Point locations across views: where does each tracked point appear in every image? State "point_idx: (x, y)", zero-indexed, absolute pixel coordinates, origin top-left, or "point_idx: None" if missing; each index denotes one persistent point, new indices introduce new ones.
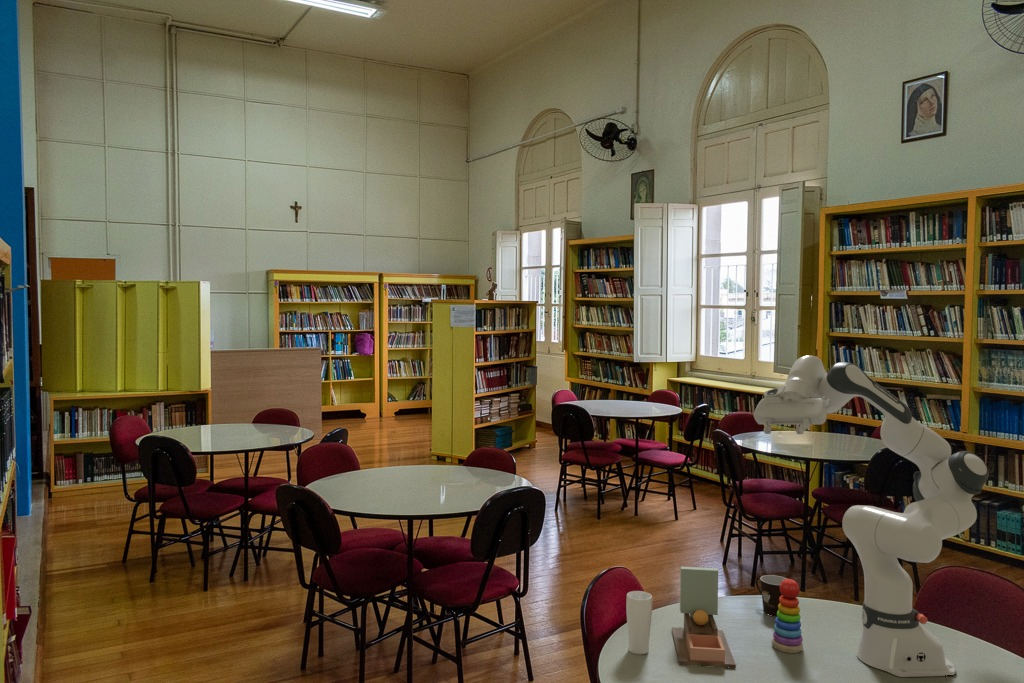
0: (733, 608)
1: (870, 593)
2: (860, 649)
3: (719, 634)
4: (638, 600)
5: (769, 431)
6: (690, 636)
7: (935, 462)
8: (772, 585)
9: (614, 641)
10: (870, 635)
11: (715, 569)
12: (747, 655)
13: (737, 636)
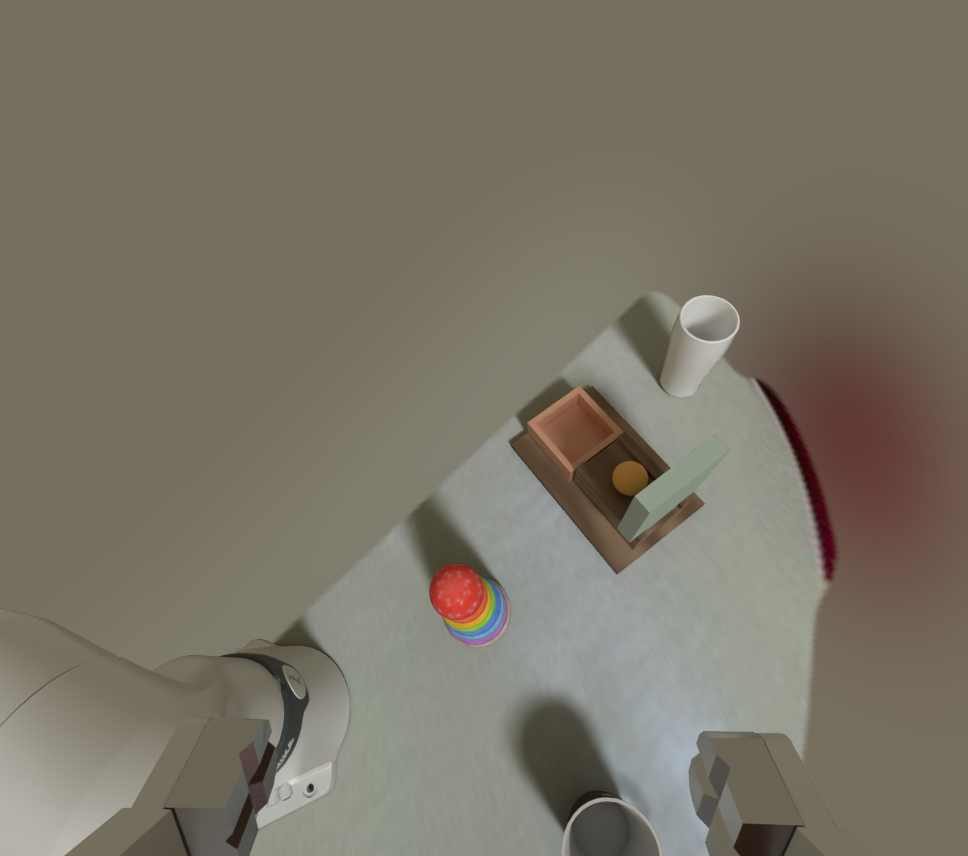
0: None
1: (244, 666)
2: (330, 675)
3: (609, 547)
4: (690, 299)
5: (705, 781)
6: (614, 433)
7: None
8: (596, 798)
9: (739, 382)
10: (290, 662)
11: (646, 499)
12: (522, 513)
13: (585, 587)
